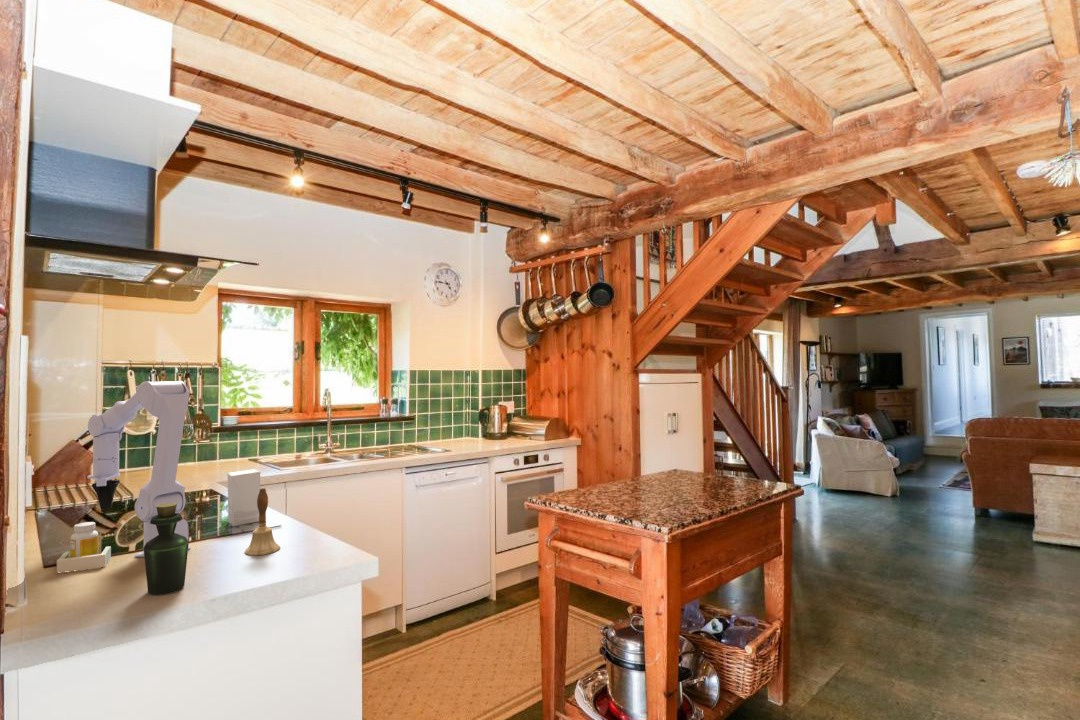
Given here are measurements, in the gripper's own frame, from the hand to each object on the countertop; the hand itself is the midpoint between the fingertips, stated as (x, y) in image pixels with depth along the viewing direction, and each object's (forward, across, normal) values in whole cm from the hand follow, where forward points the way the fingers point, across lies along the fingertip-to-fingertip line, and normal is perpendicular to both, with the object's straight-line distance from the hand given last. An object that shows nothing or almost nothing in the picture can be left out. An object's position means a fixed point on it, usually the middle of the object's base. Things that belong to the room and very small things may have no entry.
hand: (106, 508), depth 155 cm
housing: (+9, +20, -1) cm, 23 cm away
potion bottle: (+10, +48, +18) cm, 52 cm away
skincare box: (+10, -5, +34) cm, 35 cm away
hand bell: (+10, +29, +37) cm, 48 cm away
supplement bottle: (+10, +18, -2) cm, 21 cm away
